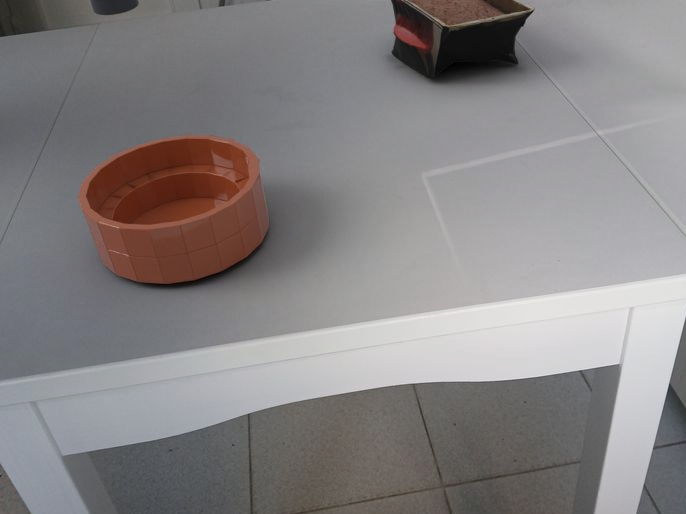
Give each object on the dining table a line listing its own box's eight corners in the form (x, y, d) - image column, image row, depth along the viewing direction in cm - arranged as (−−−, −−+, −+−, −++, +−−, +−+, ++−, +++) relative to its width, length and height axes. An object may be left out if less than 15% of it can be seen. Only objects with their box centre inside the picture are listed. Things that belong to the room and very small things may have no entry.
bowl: (89, 300, 60) (64, 240, 56) (111, 203, 71) (92, 147, 67) (273, 275, 61) (262, 214, 57) (266, 182, 72) (256, 125, 68)
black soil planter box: (480, 42, 98) (473, -40, 93) (547, 68, 84) (544, -26, 78) (382, 71, 97) (368, -10, 91) (432, 103, 82) (420, 9, 76)
